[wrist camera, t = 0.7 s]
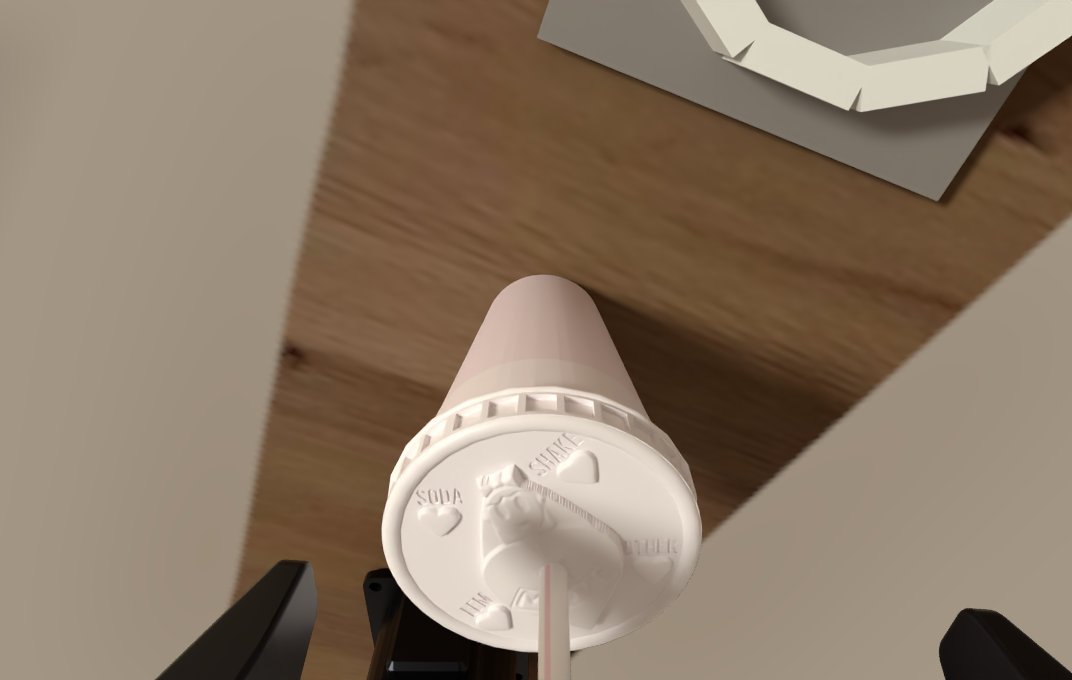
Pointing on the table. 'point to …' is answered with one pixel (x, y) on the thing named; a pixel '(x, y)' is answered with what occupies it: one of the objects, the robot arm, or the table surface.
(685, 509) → the smoothie
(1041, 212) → the table surface
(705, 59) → the socket board
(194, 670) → the robot arm
